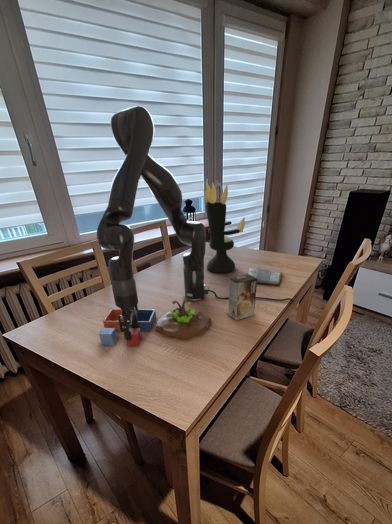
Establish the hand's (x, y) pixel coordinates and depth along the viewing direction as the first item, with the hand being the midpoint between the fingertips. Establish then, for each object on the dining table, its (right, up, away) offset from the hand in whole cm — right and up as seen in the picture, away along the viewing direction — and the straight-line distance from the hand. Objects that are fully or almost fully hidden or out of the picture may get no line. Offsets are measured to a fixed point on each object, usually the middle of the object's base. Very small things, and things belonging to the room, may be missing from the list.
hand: (132, 333), depth 98 cm
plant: (+18, +4, +11) cm, 22 cm away
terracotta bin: (-8, +5, +13) cm, 16 cm away
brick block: (0, -3, +2) cm, 4 cm away
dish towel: (+60, +33, +52) cm, 86 cm away
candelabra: (+37, +41, +64) cm, 85 cm away
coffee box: (+42, +9, +18) cm, 46 cm away
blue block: (-9, -3, +3) cm, 10 cm away
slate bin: (+1, +5, +13) cm, 14 cm away
